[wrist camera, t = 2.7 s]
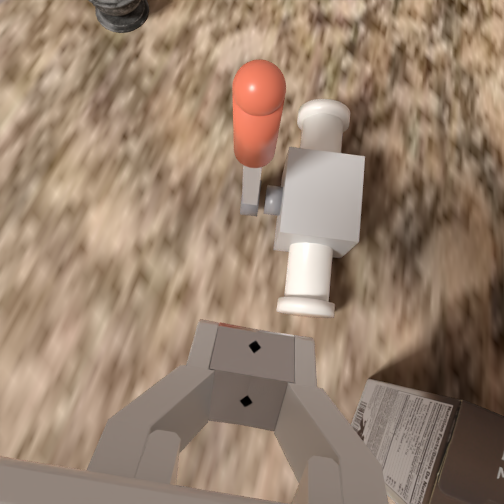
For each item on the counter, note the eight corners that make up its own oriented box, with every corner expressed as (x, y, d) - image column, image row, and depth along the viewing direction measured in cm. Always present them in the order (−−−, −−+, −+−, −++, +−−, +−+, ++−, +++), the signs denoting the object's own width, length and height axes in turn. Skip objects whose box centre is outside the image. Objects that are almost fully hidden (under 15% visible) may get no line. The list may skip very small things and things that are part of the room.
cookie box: (469, 420, 36) (651, 476, 20) (445, 499, 34) (621, 626, 19) (366, 374, 36) (464, 394, 20) (338, 450, 35) (421, 534, 19)
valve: (335, 320, 37) (353, 315, 31) (251, 309, 37) (253, 302, 31) (350, 130, 41) (369, 94, 35) (274, 120, 41) (280, 83, 35)
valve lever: (263, 221, 37) (285, 104, 19) (233, 217, 37) (227, 97, 19) (267, 189, 38) (292, 47, 20) (237, 185, 38) (236, 40, 20)
